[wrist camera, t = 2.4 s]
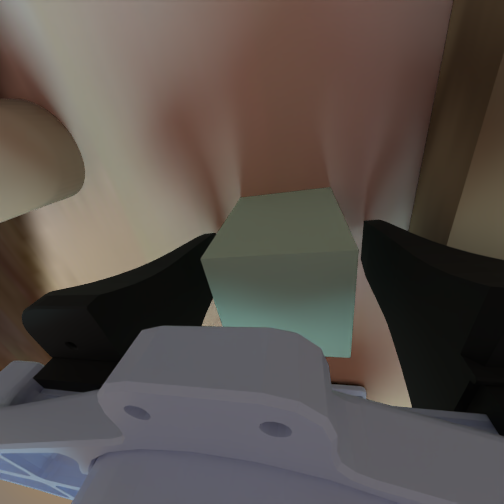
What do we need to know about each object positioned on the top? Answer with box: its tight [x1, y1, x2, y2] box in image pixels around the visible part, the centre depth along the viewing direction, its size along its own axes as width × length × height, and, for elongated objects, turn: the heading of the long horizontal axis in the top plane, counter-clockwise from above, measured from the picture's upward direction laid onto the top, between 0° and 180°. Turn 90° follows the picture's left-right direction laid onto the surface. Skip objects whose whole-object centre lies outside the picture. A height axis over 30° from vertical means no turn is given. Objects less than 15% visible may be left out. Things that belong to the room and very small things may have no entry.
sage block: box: [201, 187, 359, 358], centre depth 10 cm, size 4×4×6 cm
